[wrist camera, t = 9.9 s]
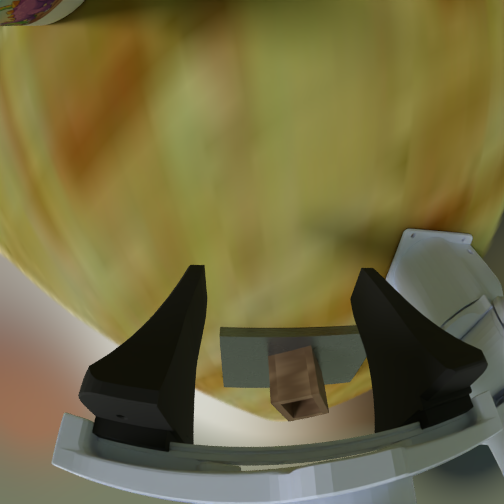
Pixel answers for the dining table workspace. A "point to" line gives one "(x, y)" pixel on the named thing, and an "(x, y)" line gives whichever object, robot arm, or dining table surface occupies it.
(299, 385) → the hollow wooden block
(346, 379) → the plate
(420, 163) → the dining table surface
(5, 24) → the milk bottle
